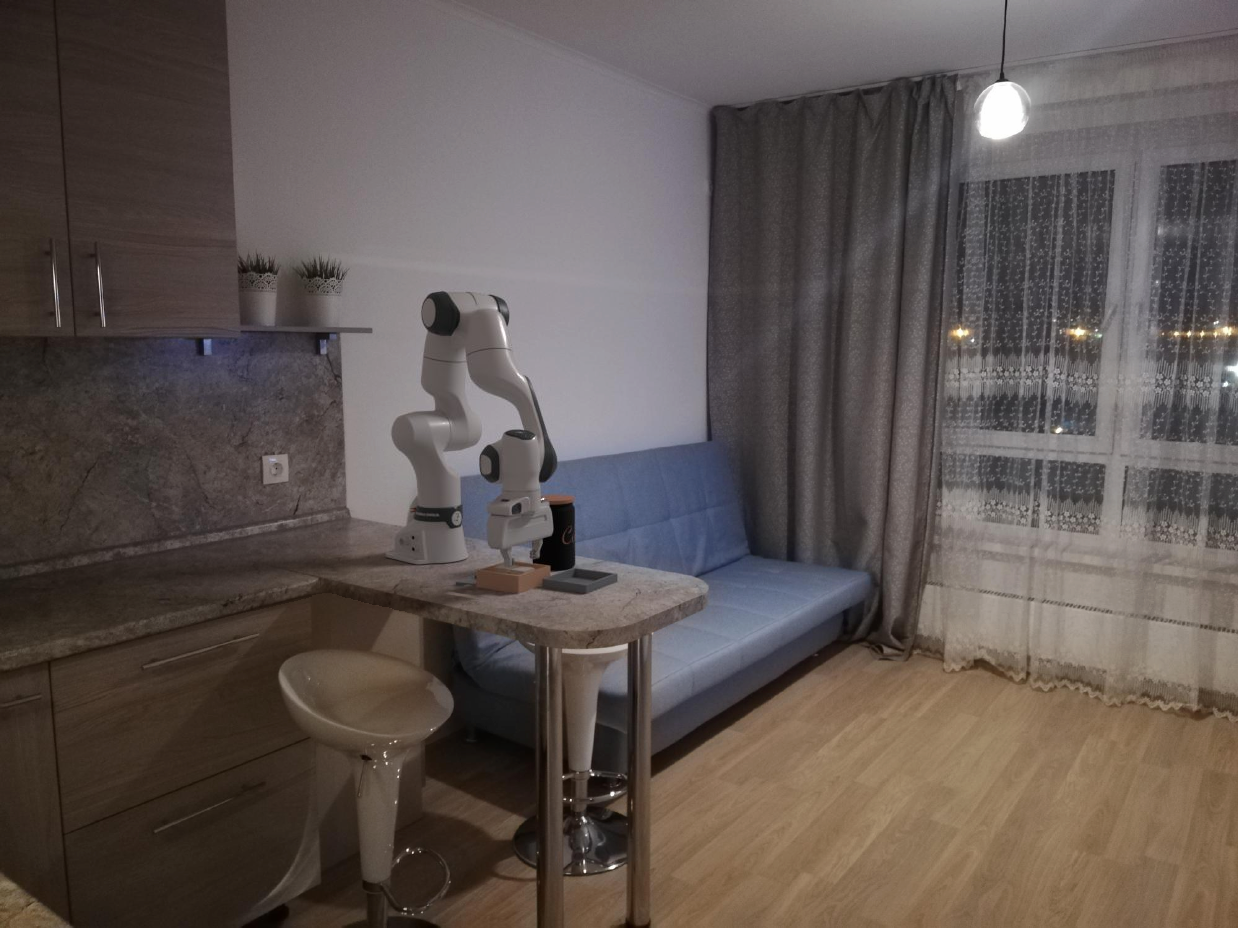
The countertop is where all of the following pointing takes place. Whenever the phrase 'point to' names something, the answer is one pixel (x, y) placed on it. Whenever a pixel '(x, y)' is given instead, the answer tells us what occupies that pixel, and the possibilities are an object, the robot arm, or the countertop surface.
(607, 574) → the tray
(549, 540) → the coffee jar
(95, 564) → the countertop surface
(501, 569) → the cream cube
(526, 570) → the stone
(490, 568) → the terracotta bin
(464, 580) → the tray lid
